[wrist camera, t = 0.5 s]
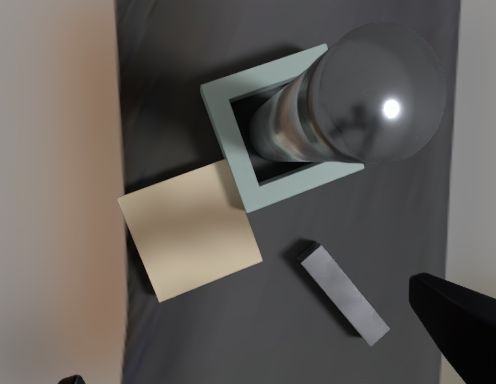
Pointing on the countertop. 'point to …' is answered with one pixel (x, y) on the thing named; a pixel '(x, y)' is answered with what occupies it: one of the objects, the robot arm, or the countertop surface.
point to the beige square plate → (190, 229)
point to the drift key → (342, 293)
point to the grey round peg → (356, 102)
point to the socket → (231, 142)
